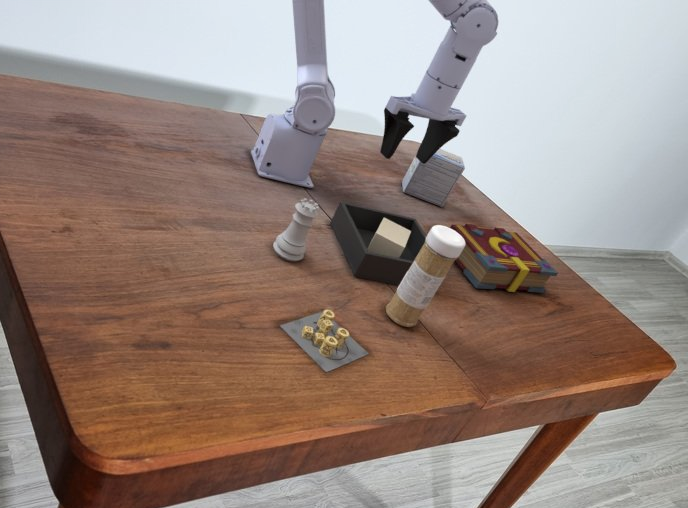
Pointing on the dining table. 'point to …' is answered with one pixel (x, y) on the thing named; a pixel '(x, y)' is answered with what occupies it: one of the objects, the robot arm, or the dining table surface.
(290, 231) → the rook chess piece
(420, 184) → the medicine box
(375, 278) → the basket
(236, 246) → the dining table surface
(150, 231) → the dining table surface
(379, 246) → the small box
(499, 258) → the decorative book
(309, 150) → the robot arm
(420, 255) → the sprinkles bottle
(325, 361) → the dice set
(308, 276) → the dining table surface
